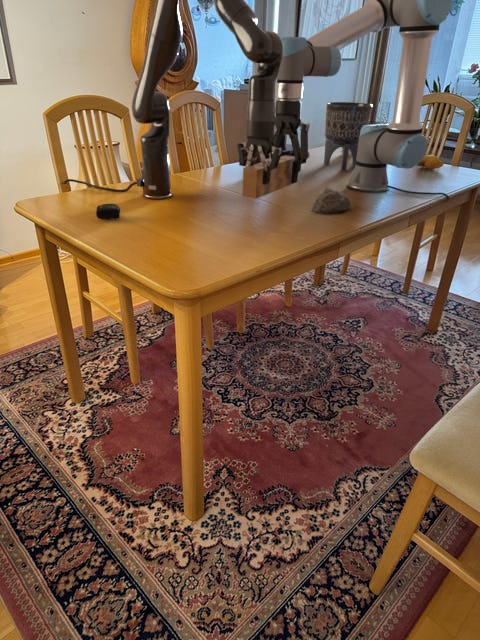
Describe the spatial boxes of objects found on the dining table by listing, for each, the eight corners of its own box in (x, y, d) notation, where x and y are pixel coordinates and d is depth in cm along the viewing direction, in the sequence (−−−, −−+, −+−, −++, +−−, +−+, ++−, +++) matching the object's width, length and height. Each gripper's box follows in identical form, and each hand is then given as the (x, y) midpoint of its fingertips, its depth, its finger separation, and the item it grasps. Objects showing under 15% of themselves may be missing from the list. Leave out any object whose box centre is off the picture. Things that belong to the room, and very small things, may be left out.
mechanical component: (240, 120, 182) (283, 115, 202) (239, 174, 192) (280, 164, 212) (283, 126, 170) (325, 120, 190) (280, 183, 180) (320, 171, 200)
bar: (283, 180, 148) (285, 155, 144) (295, 182, 145) (297, 157, 141) (242, 196, 130) (243, 167, 126) (255, 198, 128) (257, 170, 124)
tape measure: (96, 222, 135) (94, 209, 133) (99, 215, 140) (97, 203, 139) (120, 221, 136) (118, 209, 134) (121, 214, 141) (120, 202, 139)
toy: (418, 162, 205) (412, 155, 217) (420, 176, 207) (414, 168, 220) (444, 154, 201) (436, 147, 214) (446, 168, 204) (438, 161, 217)
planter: (313, 167, 208) (319, 103, 195) (331, 160, 222) (338, 101, 209) (353, 173, 199) (362, 107, 185) (369, 166, 213) (379, 104, 199)
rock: (335, 203, 156) (338, 184, 153) (355, 209, 151) (359, 189, 148) (309, 210, 149) (311, 190, 145) (329, 217, 143) (332, 196, 140)
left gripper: (231, 117, 123) (230, 181, 131) (276, 122, 116) (272, 189, 125) (246, 115, 128) (244, 176, 137) (290, 119, 121) (286, 184, 130)
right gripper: (252, 98, 133) (250, 178, 144) (314, 102, 123) (306, 187, 135) (266, 96, 138) (262, 174, 150) (325, 101, 129) (317, 183, 140)
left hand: (258, 182), depth 131 cm, fingers closed on bar, 4 cm apart
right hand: (283, 180), depth 142 cm, fingers open, 7 cm apart
